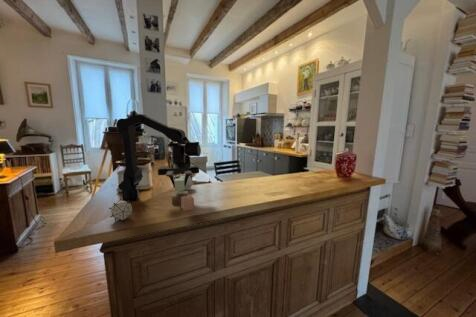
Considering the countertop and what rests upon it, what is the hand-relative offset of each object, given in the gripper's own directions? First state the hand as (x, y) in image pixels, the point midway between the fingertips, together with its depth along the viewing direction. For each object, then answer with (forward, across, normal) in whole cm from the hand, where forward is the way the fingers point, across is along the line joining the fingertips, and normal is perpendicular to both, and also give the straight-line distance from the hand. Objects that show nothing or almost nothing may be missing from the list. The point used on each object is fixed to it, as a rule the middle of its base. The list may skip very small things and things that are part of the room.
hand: (179, 187), depth 98 cm
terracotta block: (+7, +3, -10) cm, 13 cm away
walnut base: (+7, 0, 0) cm, 7 cm away
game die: (+7, -22, -15) cm, 28 cm away
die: (+7, +3, +18) cm, 20 cm away
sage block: (+1, 0, 0) cm, 1 cm away
